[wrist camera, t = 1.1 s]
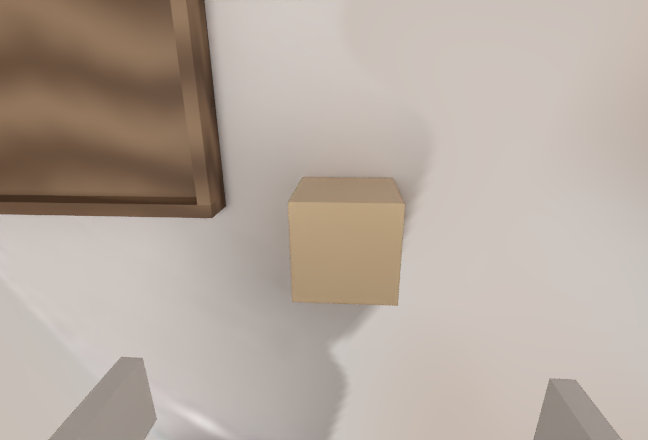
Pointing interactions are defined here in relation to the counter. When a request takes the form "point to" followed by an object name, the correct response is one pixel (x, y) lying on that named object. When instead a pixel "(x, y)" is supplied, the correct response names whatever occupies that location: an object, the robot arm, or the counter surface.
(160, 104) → the tray
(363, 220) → the tan block
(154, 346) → the counter surface
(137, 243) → the counter surface
